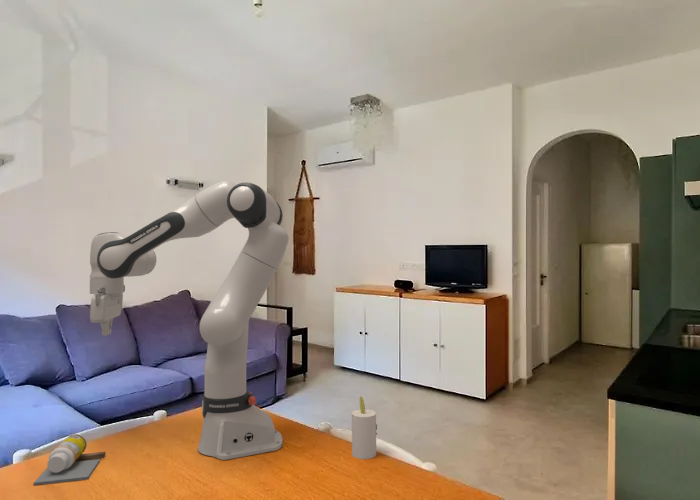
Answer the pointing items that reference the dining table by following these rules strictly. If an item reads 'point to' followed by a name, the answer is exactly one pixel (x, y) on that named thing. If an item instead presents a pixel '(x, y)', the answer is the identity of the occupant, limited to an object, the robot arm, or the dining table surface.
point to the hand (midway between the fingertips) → (106, 334)
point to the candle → (364, 432)
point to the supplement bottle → (66, 453)
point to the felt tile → (69, 473)
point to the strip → (91, 456)
